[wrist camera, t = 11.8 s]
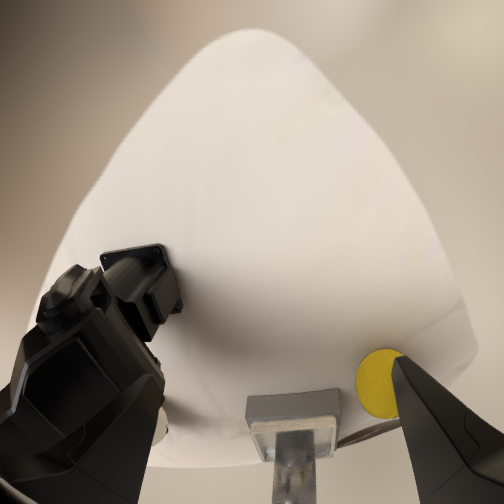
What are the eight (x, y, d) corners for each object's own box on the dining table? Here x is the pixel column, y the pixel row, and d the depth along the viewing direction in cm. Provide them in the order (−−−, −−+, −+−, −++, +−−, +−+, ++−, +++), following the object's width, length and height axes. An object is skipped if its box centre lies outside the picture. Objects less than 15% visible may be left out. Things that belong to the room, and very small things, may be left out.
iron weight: (273, 445, 28) (265, 549, 15) (278, 429, 26) (271, 547, 13) (309, 446, 27) (309, 549, 15) (318, 430, 26) (321, 546, 13)
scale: (262, 438, 33) (260, 467, 29) (247, 396, 29) (243, 431, 24) (334, 433, 32) (337, 461, 27) (337, 388, 27) (342, 423, 23)
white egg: (155, 419, 34) (140, 459, 27) (114, 389, 32) (93, 429, 25) (199, 404, 30) (186, 453, 24) (153, 369, 29) (130, 419, 22)
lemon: (400, 363, 25) (421, 422, 18) (351, 376, 26) (363, 439, 19) (401, 325, 23) (431, 388, 16) (347, 340, 24) (363, 409, 17)
